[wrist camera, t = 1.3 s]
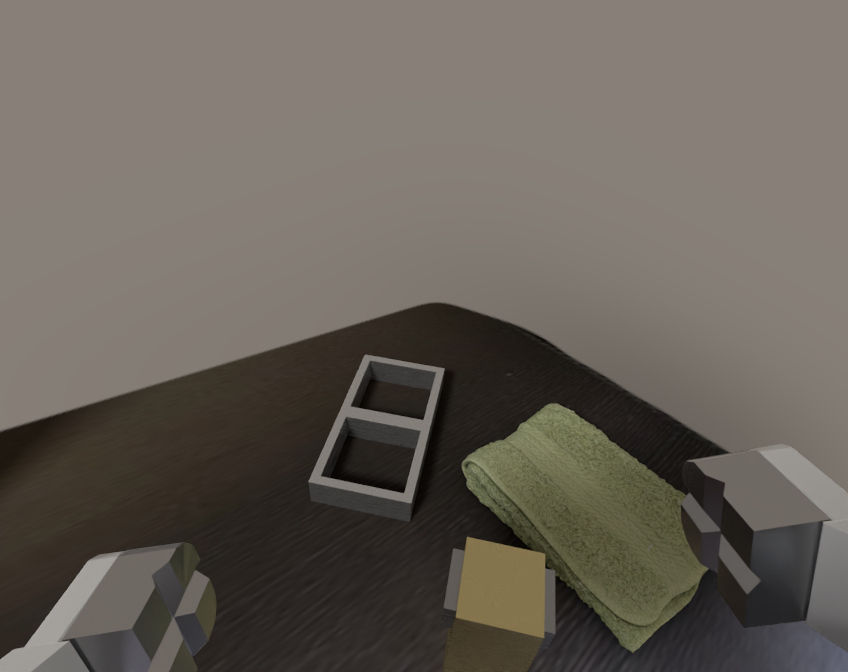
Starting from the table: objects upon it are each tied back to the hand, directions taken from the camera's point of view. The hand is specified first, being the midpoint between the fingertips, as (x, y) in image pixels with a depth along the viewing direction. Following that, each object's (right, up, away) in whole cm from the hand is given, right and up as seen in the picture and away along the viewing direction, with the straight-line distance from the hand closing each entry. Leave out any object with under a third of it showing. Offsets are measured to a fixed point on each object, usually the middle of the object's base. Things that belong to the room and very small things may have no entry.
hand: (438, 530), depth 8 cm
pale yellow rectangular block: (+3, -17, +23) cm, 29 cm away
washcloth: (+13, -11, +32) cm, 36 cm away
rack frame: (-4, -6, +36) cm, 37 cm away
